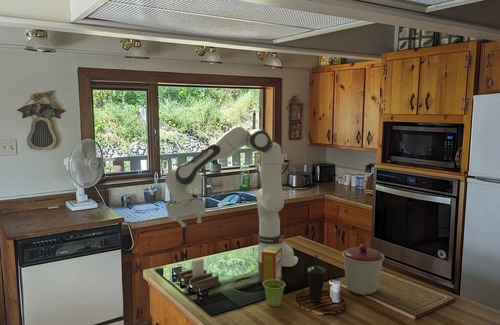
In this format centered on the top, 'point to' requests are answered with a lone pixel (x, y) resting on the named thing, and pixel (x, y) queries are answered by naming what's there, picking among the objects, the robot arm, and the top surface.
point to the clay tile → (198, 267)
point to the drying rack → (199, 279)
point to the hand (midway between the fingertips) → (192, 224)
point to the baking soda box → (272, 263)
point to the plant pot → (274, 292)
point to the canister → (362, 269)
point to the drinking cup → (315, 281)
